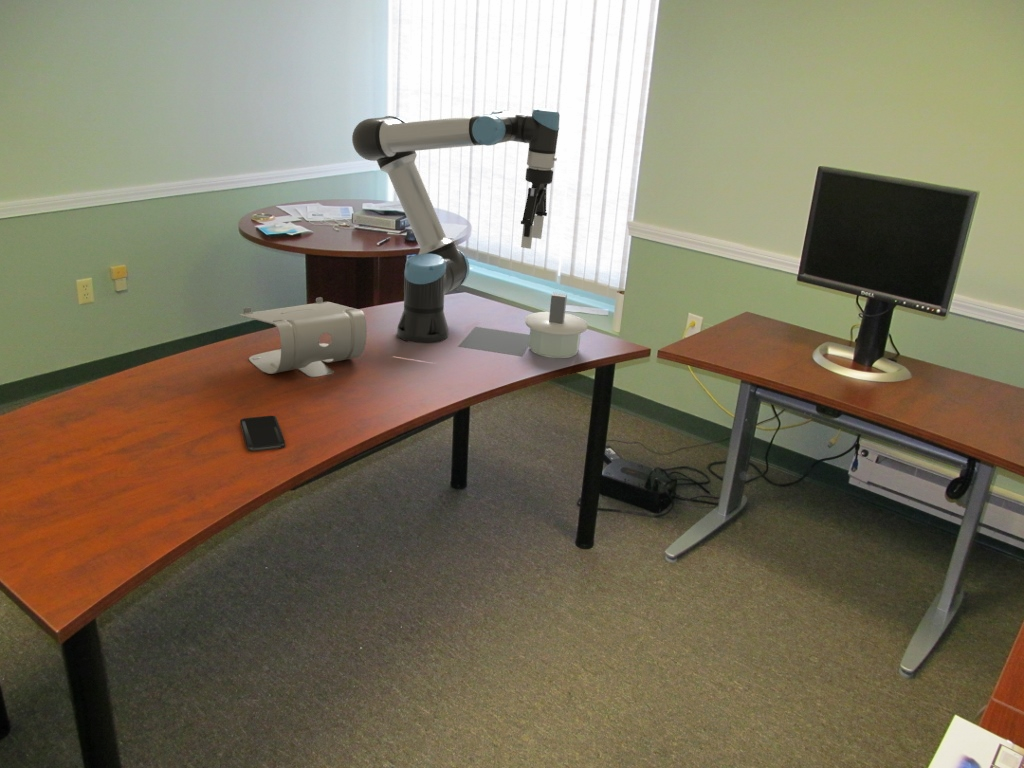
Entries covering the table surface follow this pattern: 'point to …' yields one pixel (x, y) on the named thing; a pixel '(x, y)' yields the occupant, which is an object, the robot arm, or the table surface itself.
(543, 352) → the bowl
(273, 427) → the phone
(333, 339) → the portable electronic device stand
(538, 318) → the lid
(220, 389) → the table surface
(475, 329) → the mat
